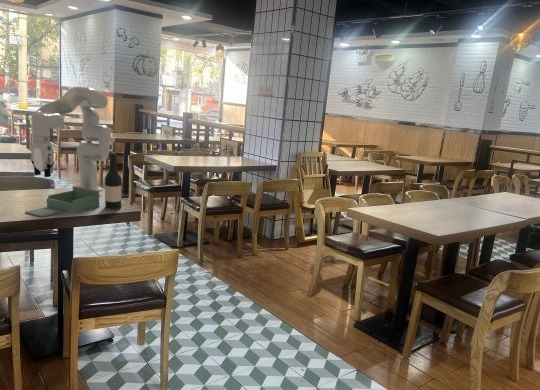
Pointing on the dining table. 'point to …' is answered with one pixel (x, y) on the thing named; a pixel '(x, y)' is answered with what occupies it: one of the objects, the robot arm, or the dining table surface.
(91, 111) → the robot arm
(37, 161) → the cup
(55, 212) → the rubber mat
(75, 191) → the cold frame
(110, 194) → the wine bottle
